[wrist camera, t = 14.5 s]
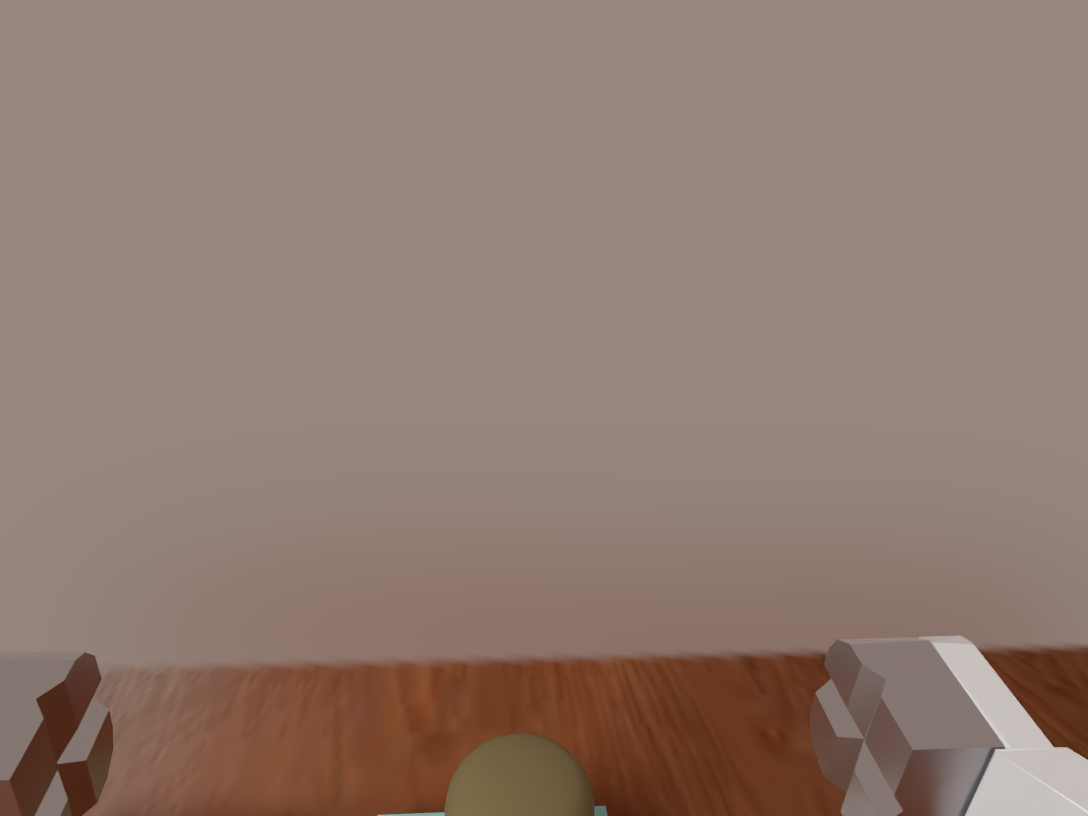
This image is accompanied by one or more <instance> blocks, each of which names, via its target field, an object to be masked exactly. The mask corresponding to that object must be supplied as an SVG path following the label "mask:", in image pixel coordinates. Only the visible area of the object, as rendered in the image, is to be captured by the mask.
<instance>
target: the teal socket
mask: <svg viewBox="0 0 1088 816" xmlns="http://www.w3.org/2000/svg"><path fill="white" fill-rule="evenodd" d="M378 816H445V812H441V813H417V814H392V815H378ZM594 816H608V815H607V809H606V806H594Z"/></svg>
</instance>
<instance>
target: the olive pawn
mask: <svg viewBox="0 0 1088 816" xmlns="http://www.w3.org/2000/svg"><path fill="white" fill-rule="evenodd" d="M444 812H445V816H594V797H593V793H592V789H591V786H590V783H589V781H588V778H587V775H586V772H585V770H584V769H583V768H582V767H581V766H580V764H579V763H578V762H577V761H576V759H575V758H574V757H573V756H572V755H571V753H570V752H569V751H568V750H566V749H565V748H563V747H562V746H560V745H559V744H557V743H556V742H554V741H553V740H550V739H547V738H544V737H541V736H538V735H535V734H523V733H514V734H508V735H502V736H497V737H495V738H493V739H491V740H489V741H487V742H485V743H482V744H481V745H480V746H479V747H477V748H476V749H475V750H474V751H473V752H472V753H471V754H469V755H468V756H467V757H466V758H465V759H464V760H463V761H462V762H461V764H460V765H459V767H458V769H457V770H456V772H455V774H454V775H453V777H452V779H451V782H450V785H449V788H448V792H447V798H446V803H445V808H444Z"/></svg>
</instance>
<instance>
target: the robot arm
mask: <svg viewBox="0 0 1088 816" xmlns="http://www.w3.org/2000/svg"><path fill="white" fill-rule="evenodd" d="M824 665H825V667H826V669H827V671H828V673H829V675H830V677H831V680H829V681H828V682H827V683H826V684H825V685H824V686H822V687H821V688H820V689H819V690H818V691H817V692H816V693H815V696H814V700H813V704H812V708H811V712H810V727H811V740H812V744H813V747H814V751H815V755H816V758H817V760H818V762H819V765H820V767H821V769H822V772H823V774H824V776H825V777H826V778H828V779H829V780H830V781H831V782H833V783H834V784H835V785H836V786H838V787H839V788H840V789H841V790H843V791H844V792H845V796H844V800H843V804H842V807H841V813H842V815H843V816H1088V760H1087V759H1085V758H1084V757H1082V756H1080V755H1079V754H1077V753H1075V752H1074V751H1072V750H1071V749H1069V748H1067V747H1053V746H1052V744H1051V743H1050V742H1049V740H1048V739H1047V738H1046V737H1045V735H1044V734H1043V733H1042V731H1041V730H1040V729H1039V728H1038V726H1037V725H1036V724H1035V722H1034V721H1033V720H1032V719H1031V717H1030V716H1029V715H1028V713H1027V712H1026V711H1025V710H1024V708H1023V707H1022V706H1021V704H1020V703H1019V702H1018V701H1017V699H1016V698H1015V697H1014V695H1013V694H1012V693H1011V692H1010V690H1009V689H1008V688H1007V686H1006V685H1005V684H1004V683H1003V681H1002V680H1001V679H1000V677H999V676H998V675H997V674H996V672H995V671H994V670H993V668H992V667H991V666H990V665H989V663H988V662H987V661H986V659H985V658H984V657H983V656H982V654H981V653H980V652H979V650H978V649H977V648H976V647H975V645H974V644H973V643H972V642H971V641H969V640H967V639H966V638H964V637H962V636H937V637H936V636H934V637H919V638H914V637H911V638H910V637H908V638H869V639H837V640H836V641H835V642H834V643H833V645H832V646H831V647H830V648H829V651H828V654H827V657H826V660H825V663H824ZM100 681H101V675H100V672H99V668H98V665H97V662H96V658H95V656H94V655H91V654H89V653H86V652H0V816H82V815H83V814H84V813H86V812H87V811H88V810H89V809H90V808H92V807H93V806H94V805H95V804H96V803H97V802H98V799H99V797H100V794H101V792H102V789H103V787H104V784H105V782H106V779H107V776H108V771H109V766H110V761H111V756H112V751H113V726H112V722H111V717H110V713H109V710H108V709H107V708H106V707H105V706H103V705H102V704H101V703H100V702H98V701H97V700H96V699H95V698H93V696H94V694H95V692H96V690H97V688H98V686H99V683H100Z"/></svg>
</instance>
